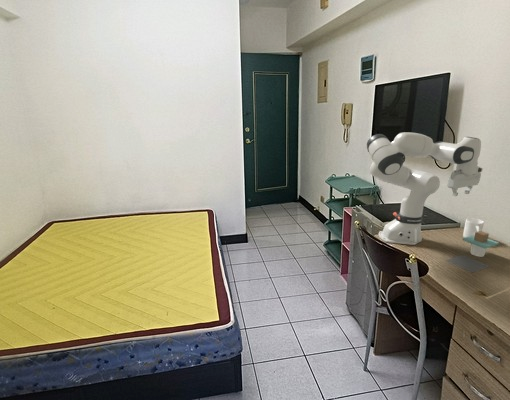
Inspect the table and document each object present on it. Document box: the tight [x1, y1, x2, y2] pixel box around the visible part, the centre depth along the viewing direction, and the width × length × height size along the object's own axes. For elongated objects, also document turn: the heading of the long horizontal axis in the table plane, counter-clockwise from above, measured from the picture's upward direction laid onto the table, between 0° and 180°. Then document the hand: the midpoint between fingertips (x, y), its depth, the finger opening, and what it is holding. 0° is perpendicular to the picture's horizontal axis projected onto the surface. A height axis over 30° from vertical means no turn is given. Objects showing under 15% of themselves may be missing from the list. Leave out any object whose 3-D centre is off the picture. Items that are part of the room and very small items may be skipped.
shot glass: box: [470, 243, 488, 258], centre depth 161 cm, size 7×7×7 cm
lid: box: [461, 230, 500, 250], centre depth 159 cm, size 11×11×5 cm
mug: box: [462, 217, 485, 238], centre depth 178 cm, size 12×8×10 cm
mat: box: [445, 254, 490, 274], centre depth 153 cm, size 13×13×1 cm
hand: (460, 194), depth 170 cm, fingers open, 8 cm apart
